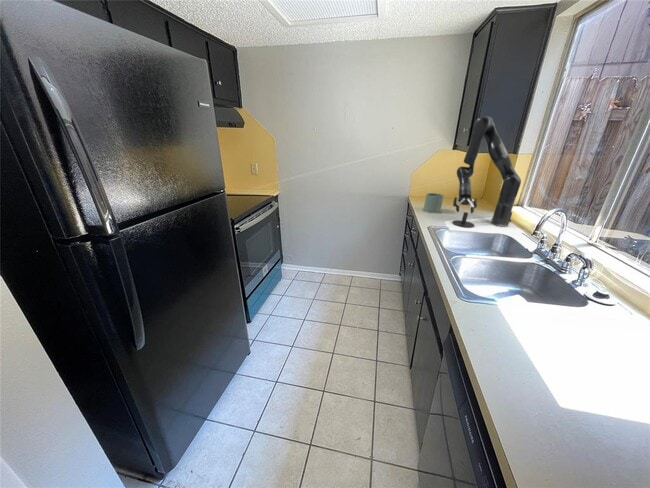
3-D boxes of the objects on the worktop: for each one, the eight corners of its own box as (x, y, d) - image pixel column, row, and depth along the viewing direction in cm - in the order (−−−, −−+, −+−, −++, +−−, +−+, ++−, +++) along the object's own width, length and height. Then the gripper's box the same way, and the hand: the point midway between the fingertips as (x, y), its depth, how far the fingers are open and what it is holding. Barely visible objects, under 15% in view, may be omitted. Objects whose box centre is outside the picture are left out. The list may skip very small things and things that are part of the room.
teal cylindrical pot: (437, 208, 209) (440, 193, 204) (442, 213, 198) (446, 197, 193) (421, 207, 210) (424, 192, 205) (426, 212, 199) (429, 196, 193)
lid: (468, 222, 179) (471, 210, 176) (477, 229, 167) (481, 216, 164) (448, 221, 180) (451, 209, 176) (456, 228, 168) (460, 215, 164)
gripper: (455, 187, 175) (455, 208, 170) (478, 189, 173) (478, 210, 167) (452, 193, 182) (451, 213, 177) (474, 195, 179) (474, 215, 174)
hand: (465, 212), depth 172 cm, fingers open, 8 cm apart
